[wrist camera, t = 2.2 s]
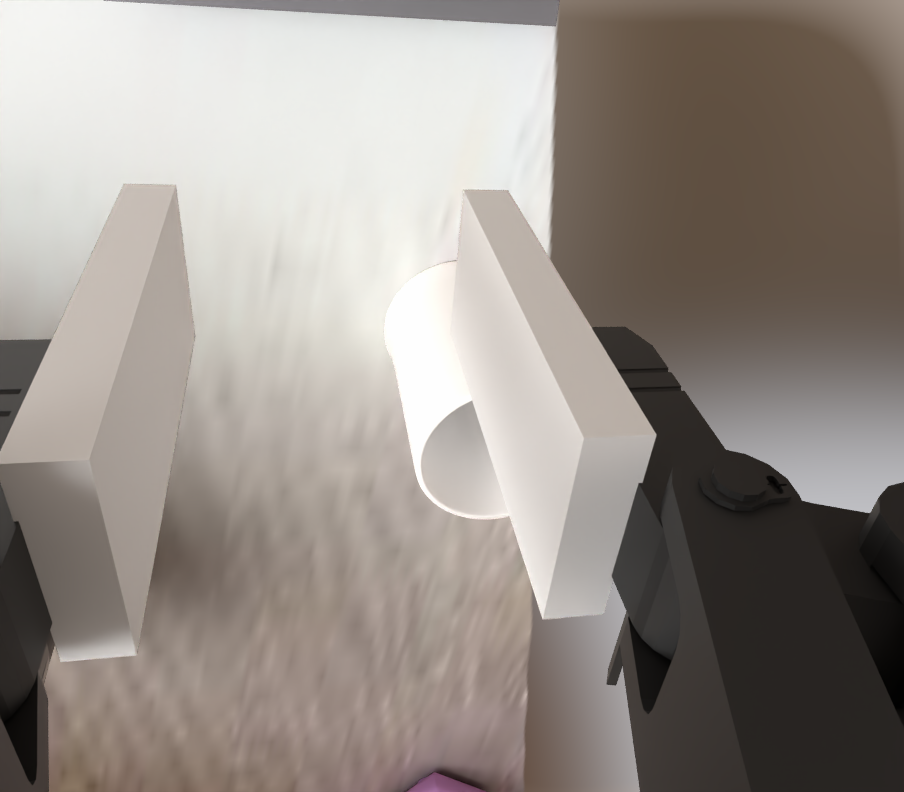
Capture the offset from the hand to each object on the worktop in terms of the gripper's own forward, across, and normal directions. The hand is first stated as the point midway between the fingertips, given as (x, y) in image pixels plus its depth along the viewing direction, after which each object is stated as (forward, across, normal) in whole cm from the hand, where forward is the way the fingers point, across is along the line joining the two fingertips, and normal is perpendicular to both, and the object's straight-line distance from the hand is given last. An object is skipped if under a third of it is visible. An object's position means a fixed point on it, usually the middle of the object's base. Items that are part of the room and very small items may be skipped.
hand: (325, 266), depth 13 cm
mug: (+27, +10, -17) cm, 33 cm away
